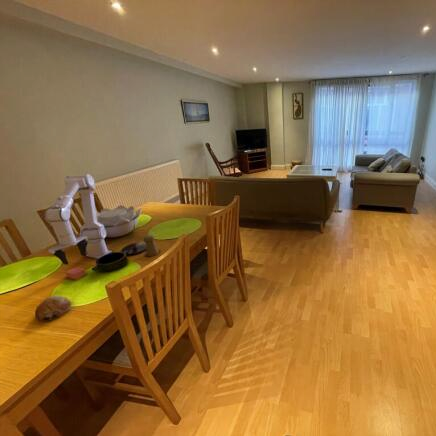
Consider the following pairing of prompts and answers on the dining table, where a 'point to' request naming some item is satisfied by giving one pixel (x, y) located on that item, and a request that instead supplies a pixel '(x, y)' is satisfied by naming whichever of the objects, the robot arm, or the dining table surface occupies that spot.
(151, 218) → the dining table surface
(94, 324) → the dining table surface
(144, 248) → the pan lid
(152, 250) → the cork
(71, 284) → the dining table surface
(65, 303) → the bread roll
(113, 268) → the pan
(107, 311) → the dining table surface
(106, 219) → the decorative bowl
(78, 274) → the reddish pink block
